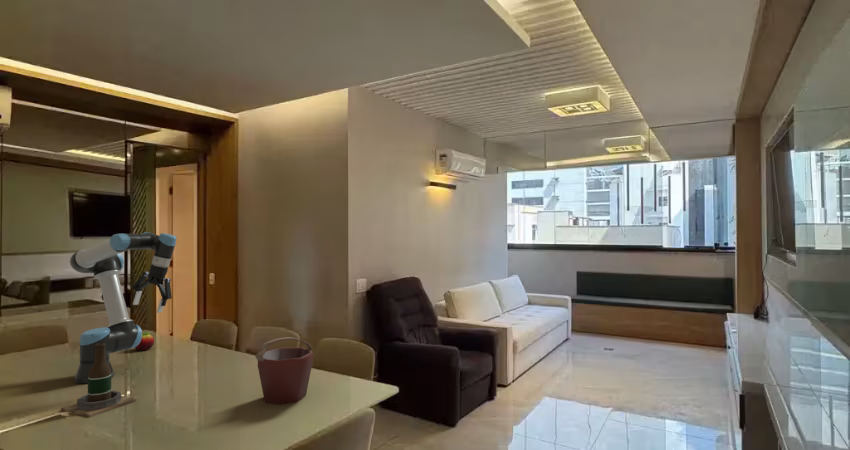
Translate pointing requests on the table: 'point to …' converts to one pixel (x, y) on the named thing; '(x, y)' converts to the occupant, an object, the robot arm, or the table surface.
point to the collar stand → (97, 405)
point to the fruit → (145, 342)
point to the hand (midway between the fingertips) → (147, 308)
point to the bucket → (284, 372)
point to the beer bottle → (99, 376)
